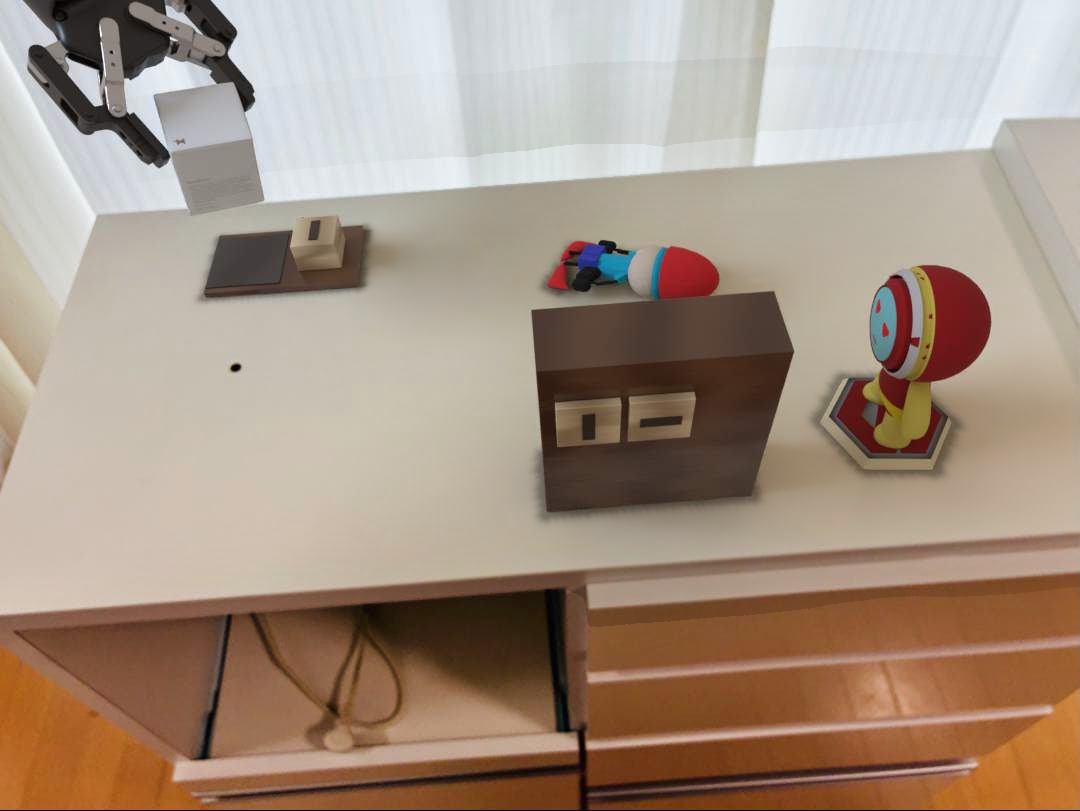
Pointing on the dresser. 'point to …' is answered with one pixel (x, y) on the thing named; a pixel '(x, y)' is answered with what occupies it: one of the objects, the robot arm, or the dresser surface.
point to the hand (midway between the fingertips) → (209, 133)
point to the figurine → (910, 368)
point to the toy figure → (639, 270)
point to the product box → (210, 147)
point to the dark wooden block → (657, 398)
